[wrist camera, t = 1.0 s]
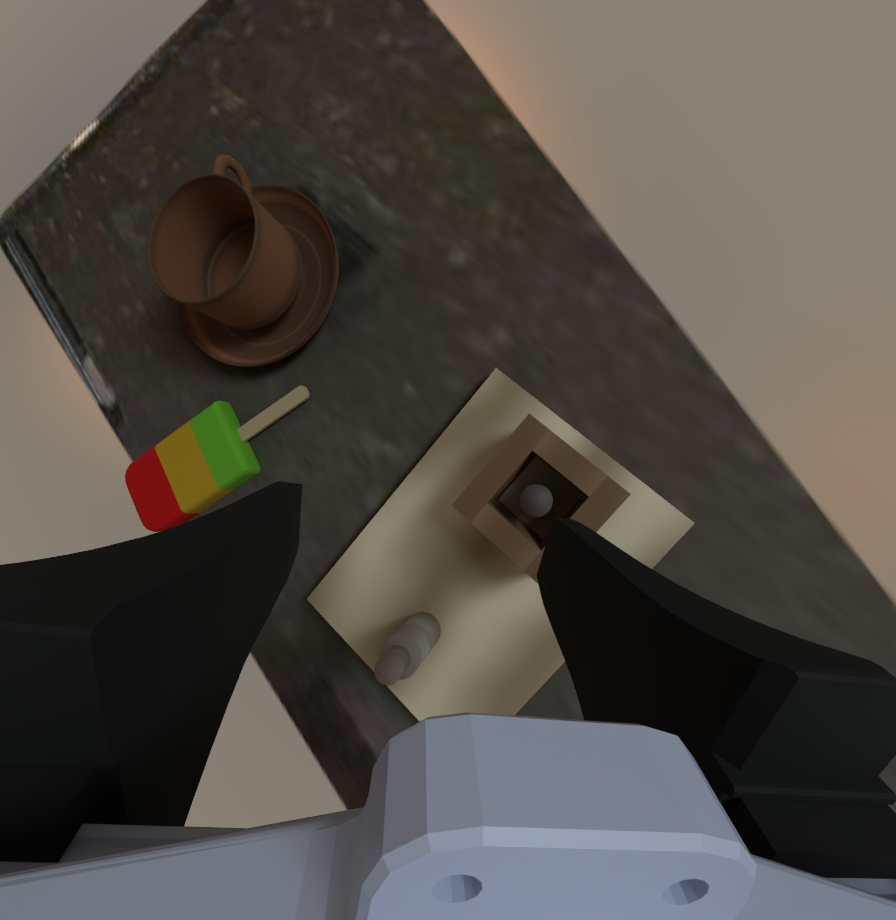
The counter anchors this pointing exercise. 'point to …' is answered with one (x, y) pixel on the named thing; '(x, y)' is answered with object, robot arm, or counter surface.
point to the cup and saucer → (244, 265)
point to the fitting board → (472, 567)
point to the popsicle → (200, 463)
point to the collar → (502, 472)
